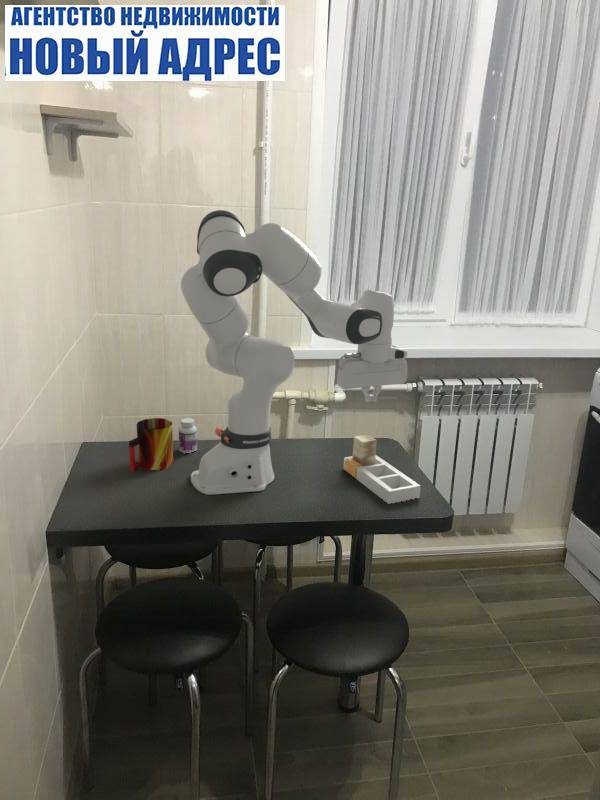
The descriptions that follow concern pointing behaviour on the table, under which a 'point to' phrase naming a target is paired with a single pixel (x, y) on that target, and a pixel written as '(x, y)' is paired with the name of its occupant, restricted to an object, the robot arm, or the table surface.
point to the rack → (383, 480)
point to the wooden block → (364, 450)
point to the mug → (152, 445)
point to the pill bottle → (187, 436)
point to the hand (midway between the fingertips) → (370, 401)
